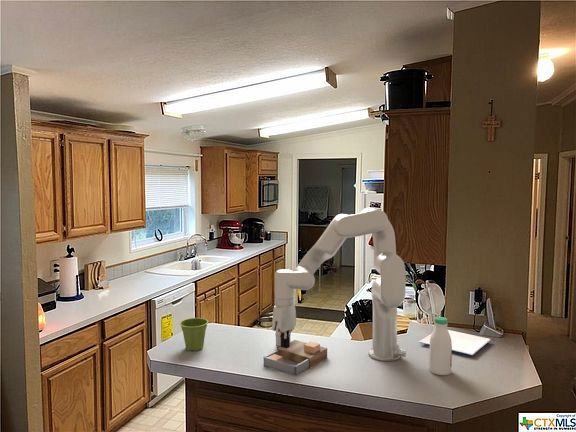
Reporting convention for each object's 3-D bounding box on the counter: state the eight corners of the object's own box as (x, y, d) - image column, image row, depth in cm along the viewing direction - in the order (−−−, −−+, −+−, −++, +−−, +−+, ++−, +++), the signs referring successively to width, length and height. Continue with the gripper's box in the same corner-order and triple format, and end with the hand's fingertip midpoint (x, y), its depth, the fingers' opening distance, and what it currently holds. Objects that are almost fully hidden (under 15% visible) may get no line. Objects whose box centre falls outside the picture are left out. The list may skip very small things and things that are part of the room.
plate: (490, 343, 191) (491, 338, 191) (472, 359, 175) (472, 354, 174) (440, 332, 206) (440, 327, 206) (418, 345, 189) (418, 341, 189)
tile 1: (275, 360, 167) (275, 366, 167) (283, 356, 170) (283, 362, 171) (266, 357, 170) (266, 363, 170) (274, 353, 173) (274, 360, 173)
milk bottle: (448, 377, 158) (449, 322, 156) (426, 373, 162) (427, 319, 161) (453, 369, 165) (454, 317, 163) (432, 365, 169) (433, 313, 167)
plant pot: (174, 351, 185) (173, 324, 184) (190, 341, 196) (190, 316, 195) (199, 355, 181) (198, 327, 180) (214, 345, 192) (213, 319, 191)
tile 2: (320, 350, 174) (320, 343, 174) (313, 353, 171) (313, 347, 171) (310, 347, 177) (310, 341, 177) (304, 351, 173) (304, 344, 173)
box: (309, 368, 167) (309, 359, 167) (295, 376, 160) (295, 366, 160) (277, 358, 176) (277, 350, 176) (263, 365, 170) (263, 356, 169)
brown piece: (327, 358, 176) (327, 348, 176) (310, 368, 167) (310, 358, 167) (294, 349, 186) (294, 339, 186) (276, 358, 177) (276, 348, 176)
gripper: (288, 295, 182) (289, 339, 183) (265, 304, 170) (265, 350, 171) (303, 298, 177) (303, 343, 178) (280, 307, 165) (280, 355, 167)
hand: (285, 347), depth 175 cm, fingers closed
